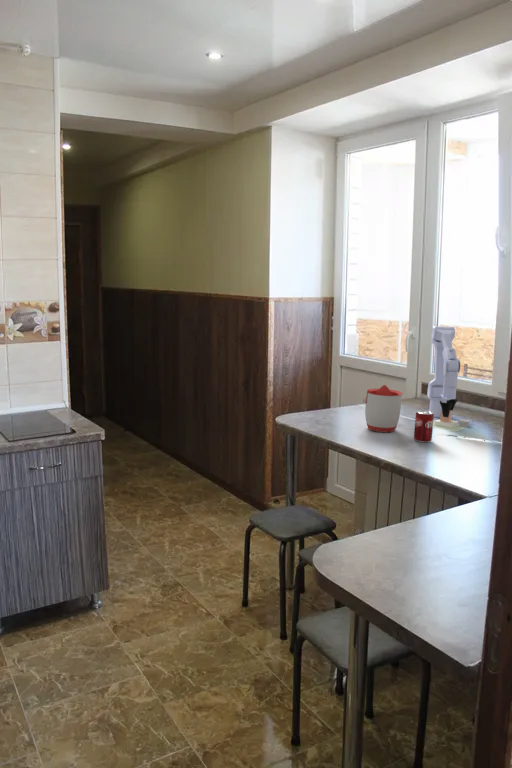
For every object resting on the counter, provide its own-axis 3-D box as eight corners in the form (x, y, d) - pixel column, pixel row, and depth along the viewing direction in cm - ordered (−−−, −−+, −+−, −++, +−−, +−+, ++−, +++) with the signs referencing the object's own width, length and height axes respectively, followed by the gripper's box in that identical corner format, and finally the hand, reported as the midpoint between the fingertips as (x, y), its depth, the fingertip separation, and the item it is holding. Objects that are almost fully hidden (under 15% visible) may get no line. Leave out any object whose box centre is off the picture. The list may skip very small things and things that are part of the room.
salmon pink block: (442, 419, 296) (443, 408, 295) (451, 421, 294) (452, 410, 293) (439, 421, 292) (441, 410, 292) (448, 422, 290) (449, 411, 289)
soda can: (432, 439, 271) (434, 411, 269) (430, 443, 264) (433, 415, 262) (414, 437, 273) (416, 409, 271) (412, 441, 266) (415, 413, 264)
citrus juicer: (360, 423, 294) (363, 380, 290) (399, 427, 291) (402, 383, 287) (358, 431, 279) (361, 386, 275) (399, 435, 276) (403, 389, 272)
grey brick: (460, 424, 297) (460, 419, 296) (469, 425, 295) (470, 420, 294) (459, 426, 293) (459, 420, 292) (468, 427, 291) (468, 421, 291)
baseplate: (436, 421, 304) (437, 419, 304) (470, 428, 294) (470, 425, 294) (421, 427, 292) (421, 425, 292) (455, 434, 282) (455, 431, 282)
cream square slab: (441, 422, 299) (442, 418, 298) (458, 425, 294) (458, 421, 293) (434, 425, 293) (434, 420, 292) (450, 428, 288) (451, 424, 287)
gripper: (445, 383, 298) (443, 412, 300) (436, 387, 286) (433, 417, 288) (461, 385, 294) (458, 414, 297) (451, 389, 282) (449, 419, 285)
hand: (447, 416), depth 292 cm, fingers open, 4 cm apart
